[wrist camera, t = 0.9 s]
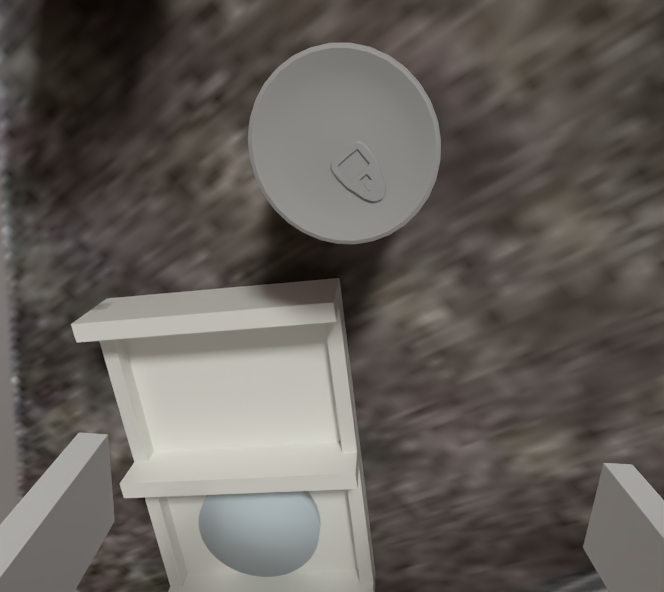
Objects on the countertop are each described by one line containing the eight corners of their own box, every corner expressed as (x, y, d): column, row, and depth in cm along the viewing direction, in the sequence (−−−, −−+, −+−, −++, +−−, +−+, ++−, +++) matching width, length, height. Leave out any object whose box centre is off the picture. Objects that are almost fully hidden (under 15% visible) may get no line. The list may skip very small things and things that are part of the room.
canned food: (373, 225, 33) (369, 280, 23) (265, 150, 32) (209, 172, 22) (451, 117, 31) (486, 125, 20) (336, 32, 30) (311, -6, 19)
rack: (339, 277, 34) (333, 302, 30) (375, 571, 43) (374, 622, 38) (106, 298, 36) (70, 324, 32) (183, 574, 44) (162, 624, 40)
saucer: (312, 466, 38) (310, 477, 37) (327, 562, 41) (326, 575, 40) (192, 471, 40) (187, 482, 38) (215, 565, 43) (211, 577, 41)
